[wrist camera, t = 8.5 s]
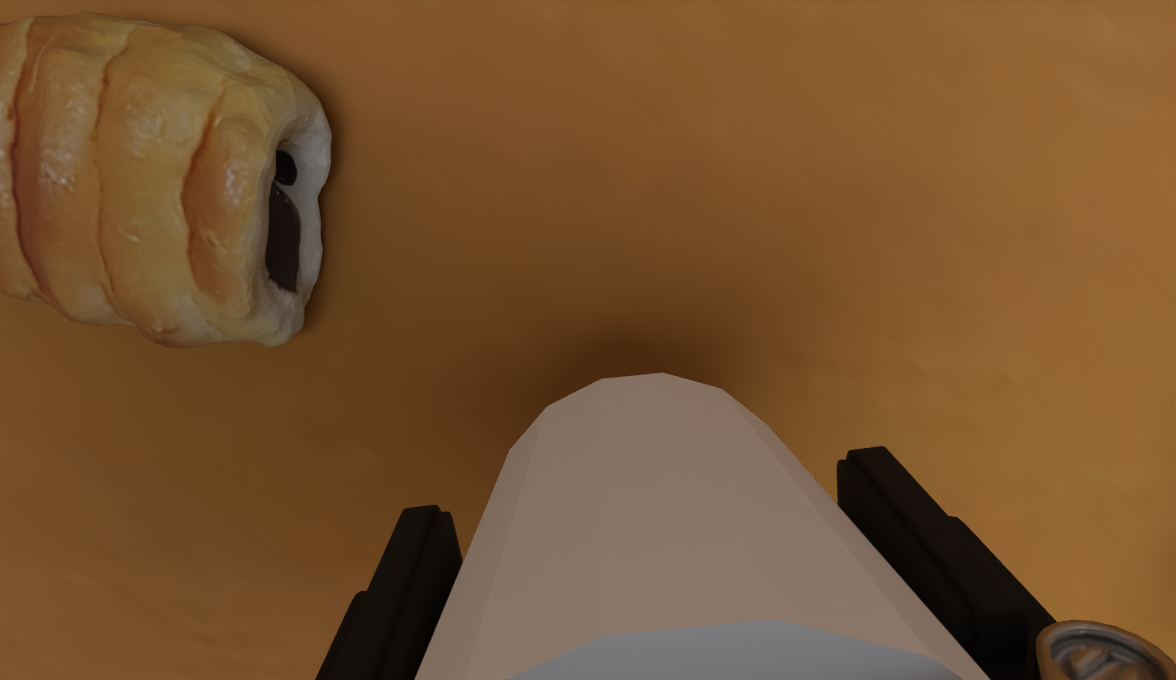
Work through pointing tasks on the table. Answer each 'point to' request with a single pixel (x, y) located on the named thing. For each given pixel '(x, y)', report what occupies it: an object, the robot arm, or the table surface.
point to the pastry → (158, 179)
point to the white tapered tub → (675, 557)
